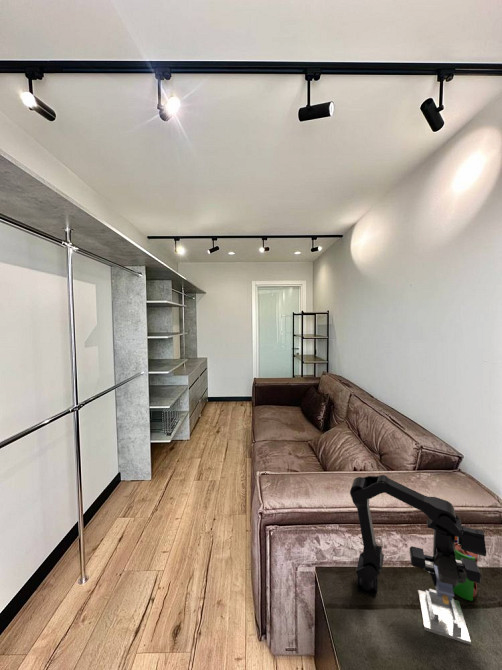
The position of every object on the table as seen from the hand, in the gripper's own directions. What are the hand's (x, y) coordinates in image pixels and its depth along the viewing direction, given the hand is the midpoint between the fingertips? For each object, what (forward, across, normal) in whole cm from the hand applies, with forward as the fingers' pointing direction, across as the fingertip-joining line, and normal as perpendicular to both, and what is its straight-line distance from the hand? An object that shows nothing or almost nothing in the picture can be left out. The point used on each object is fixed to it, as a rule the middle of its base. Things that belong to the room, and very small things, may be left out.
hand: (442, 587), depth 96 cm
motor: (+10, +9, +14) cm, 19 cm away
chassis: (+10, 0, 0) cm, 10 cm away
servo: (+1, 0, 0) cm, 1 cm away
